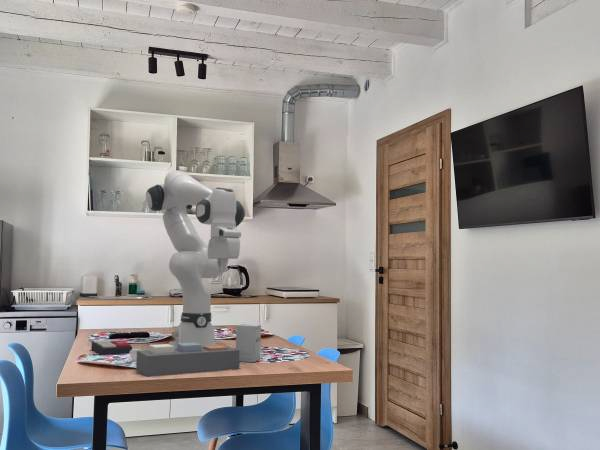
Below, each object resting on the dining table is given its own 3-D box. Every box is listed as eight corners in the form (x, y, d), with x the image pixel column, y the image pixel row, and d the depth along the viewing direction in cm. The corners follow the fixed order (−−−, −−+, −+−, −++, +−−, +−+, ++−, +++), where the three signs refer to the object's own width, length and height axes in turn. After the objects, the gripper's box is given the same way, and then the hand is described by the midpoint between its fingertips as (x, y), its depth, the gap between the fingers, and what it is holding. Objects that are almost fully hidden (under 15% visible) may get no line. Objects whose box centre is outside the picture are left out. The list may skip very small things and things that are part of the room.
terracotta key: (202, 359, 187) (203, 346, 187) (219, 358, 190) (220, 345, 190) (209, 361, 181) (210, 348, 182) (226, 360, 185) (227, 347, 185)
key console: (136, 370, 178) (136, 350, 179) (224, 363, 194) (224, 345, 194) (147, 376, 168) (147, 356, 168) (238, 368, 183) (239, 350, 184)
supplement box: (255, 362, 196) (256, 325, 197) (234, 361, 198) (235, 325, 199) (260, 359, 203) (261, 323, 204) (241, 358, 205) (241, 323, 206)
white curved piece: (153, 362, 196) (153, 350, 196) (131, 364, 190) (132, 352, 190) (141, 358, 202) (141, 347, 202) (119, 361, 197) (120, 349, 197)
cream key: (148, 358, 177) (149, 345, 178) (167, 357, 181) (167, 343, 181) (154, 361, 172) (154, 347, 173) (173, 360, 175) (174, 346, 176)
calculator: (102, 346, 206) (91, 339, 218) (102, 358, 206) (90, 350, 218) (132, 344, 212) (120, 337, 224) (132, 355, 212) (119, 348, 224)
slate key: (176, 356, 182) (177, 343, 182) (194, 355, 185) (194, 342, 185) (182, 359, 177) (183, 345, 177) (200, 358, 180) (201, 344, 180)
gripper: (203, 233, 208) (202, 271, 207) (226, 231, 190) (225, 272, 189) (219, 234, 211) (218, 271, 210) (243, 231, 193) (242, 272, 192)
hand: (222, 271), depth 199 cm, fingers closed
